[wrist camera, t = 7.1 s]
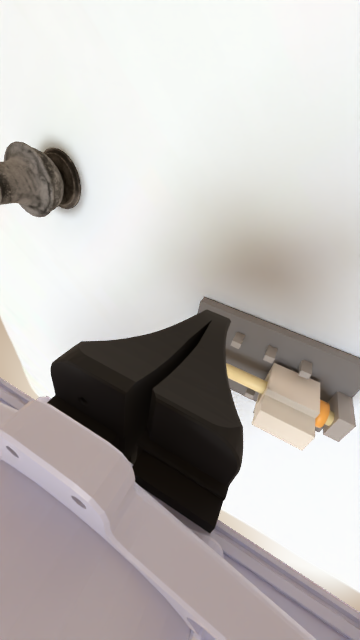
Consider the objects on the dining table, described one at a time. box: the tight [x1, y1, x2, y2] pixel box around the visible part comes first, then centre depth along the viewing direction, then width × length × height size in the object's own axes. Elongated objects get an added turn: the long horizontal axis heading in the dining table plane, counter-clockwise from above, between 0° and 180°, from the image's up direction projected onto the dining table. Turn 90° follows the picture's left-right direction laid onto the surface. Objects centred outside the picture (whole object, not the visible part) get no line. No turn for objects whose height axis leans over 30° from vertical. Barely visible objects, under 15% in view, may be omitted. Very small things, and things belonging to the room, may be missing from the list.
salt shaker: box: [0, 142, 81, 217], centre depth 20 cm, size 6×6×12 cm
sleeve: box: [252, 363, 320, 450], centre depth 21 cm, size 3×4×5 cm
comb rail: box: [198, 297, 360, 442], centre depth 23 cm, size 9×15×4 cm, turn 80°
